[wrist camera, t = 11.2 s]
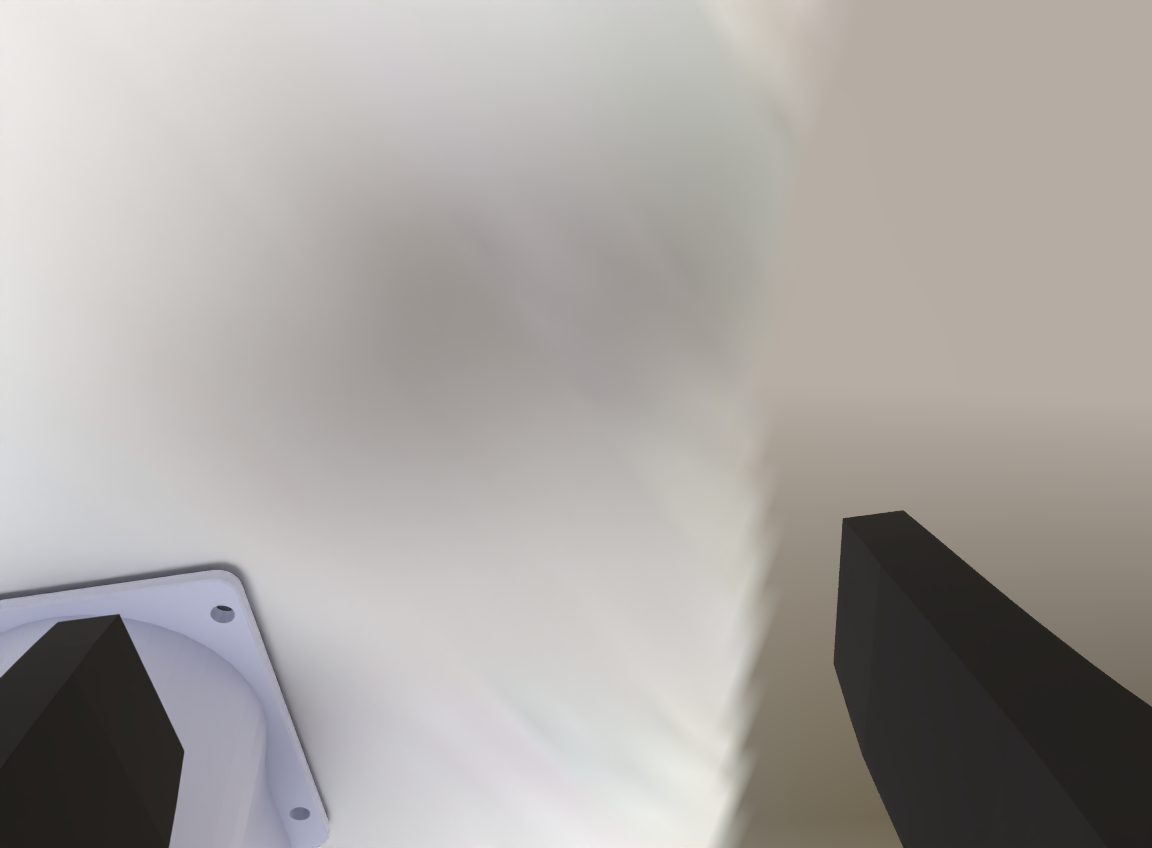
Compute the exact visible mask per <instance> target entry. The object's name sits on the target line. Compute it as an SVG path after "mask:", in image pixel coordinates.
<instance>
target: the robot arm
mask: <svg viewBox="0 0 1152 848" xmlns="http://www.w3.org/2000/svg"><path fill="white" fill-rule="evenodd" d="M219 605H222V606H227V607H230V608H232V610H231V611H222V610H220V609H218V608H217V607H216V606H219ZM834 651H835V652H834V666H835V670H836V673H837V676H838V679H839V683H840V686H841V689H842V693H843V696H844V699H845V702H846V706H847V709H848V712H849V715H850V719H851V722H852V725H853V728H854V731H855V733H856V737H857V740H858V743H859V746H860V749H861V752H862V755H863V757H864V760H865V762H866V765H867V767H868V769H869V771H870V774H871V776H872V778H873V781H874V783H875V785H876V787H877V790H878V792H879V794H880V796H881V799H882V800H883V803H884V805H885V808H886V810H887V812H888V814H889V816H890V819H891V821H892V823H893V825H894V828H895V830H896V832H897V834H898V836H899V839H900V841H901V843H902V845H903V848H1152V707H1151V706H1150V705H1148V704H1147V703H1145V702H1144V701H1143V700H1141V699H1140V698H1138V697H1137V696H1136V695H1134V694H1133V693H1131V692H1130V691H1128V690H1127V689H1126V688H1124V687H1123V686H1121V685H1120V684H1119V683H1117V682H1116V681H1115V680H1113V679H1112V678H1111V677H1109V676H1108V675H1106V674H1105V673H1104V672H1102V671H1101V670H1100V669H1098V668H1097V667H1096V666H1094V665H1093V664H1092V663H1090V662H1089V661H1088V660H1087V659H1085V658H1084V657H1083V656H1081V655H1080V654H1079V653H1078V652H1076V651H1075V650H1074V649H1072V648H1071V647H1070V646H1069V645H1067V644H1066V643H1065V642H1063V641H1062V640H1061V639H1060V638H1058V637H1057V636H1056V635H1054V634H1053V633H1052V632H1050V631H1049V630H1048V629H1047V628H1045V627H1044V626H1043V625H1041V624H1040V623H1039V622H1038V621H1036V620H1035V619H1034V618H1033V617H1031V616H1030V615H1029V614H1028V613H1026V612H1025V611H1024V610H1023V609H1021V608H1020V607H1019V606H1018V605H1017V604H1015V603H1014V602H1013V601H1012V600H1010V599H1009V598H1008V597H1007V596H1006V595H1004V594H1003V593H1002V592H1000V591H999V590H998V589H997V588H996V587H995V586H993V585H992V584H991V583H990V582H989V581H987V580H986V579H985V578H984V577H983V576H981V575H980V574H979V573H978V572H976V571H975V570H974V569H973V568H972V567H971V566H969V565H968V564H967V563H966V562H965V561H963V560H962V559H961V558H960V557H959V556H957V555H956V554H955V553H954V552H953V551H952V550H950V549H949V548H948V547H947V546H946V545H944V544H943V543H942V542H941V541H939V540H938V539H937V538H936V537H935V536H934V535H932V534H931V533H930V532H929V531H927V530H926V529H925V528H924V527H923V526H922V525H920V524H919V523H918V522H917V521H916V520H914V519H913V518H912V517H910V516H909V515H908V514H907V513H906V512H905V511H895V512H888V513H880V514H873V515H865V516H857V517H850V518H843V524H842V540H841V556H840V571H839V588H838V603H837V620H836V635H835V650H834ZM329 829H330V826H329V821H328V818H327V816H326V813H325V810H324V807H323V805H322V802H321V799H320V796H319V794H318V791H317V788H316V786H315V783H314V780H313V777H312V775H311V772H310V769H309V766H308V764H307V761H306V758H305V755H304V753H303V750H302V747H301V744H300V742H299V739H298V736H297V734H296V731H295V728H294V725H293V723H292V720H291V717H290V714H289V712H288V709H287V706H286V703H285V701H284V698H283V695H282V692H281V690H280V687H279V684H278V682H277V679H276V676H275V673H274V671H273V668H272V665H271V662H270V660H269V657H268V654H267V651H266V649H265V646H264V643H263V640H262V638H261V635H260V632H259V630H258V627H257V624H256V621H255V619H254V616H253V613H252V610H251V608H250V605H249V602H248V599H247V597H246V594H245V591H244V588H243V586H242V583H241V582H240V580H239V579H238V577H236V576H235V575H233V574H232V573H230V572H227V571H224V570H209V571H202V572H195V573H188V574H181V575H174V576H166V577H159V578H152V579H145V580H138V581H131V582H124V583H117V584H110V585H103V586H96V587H89V588H82V589H75V590H68V591H61V592H54V593H46V594H39V595H32V596H25V597H18V598H11V599H4V600H0V848H316V847H319V846H321V845H322V844H324V843H325V842H326V841H327V839H328V837H329Z"/></svg>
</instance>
